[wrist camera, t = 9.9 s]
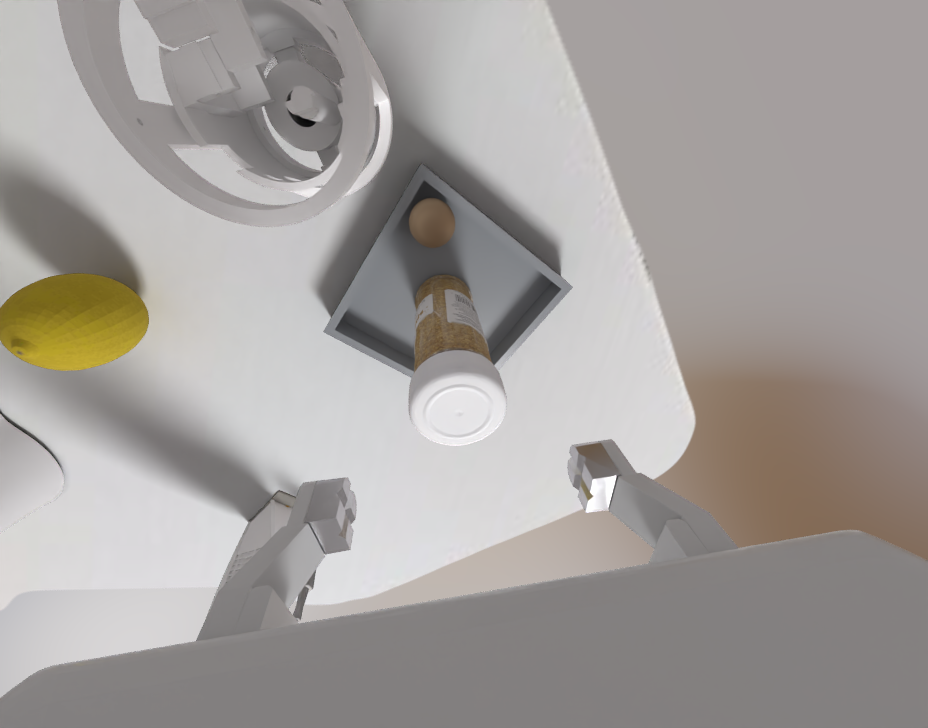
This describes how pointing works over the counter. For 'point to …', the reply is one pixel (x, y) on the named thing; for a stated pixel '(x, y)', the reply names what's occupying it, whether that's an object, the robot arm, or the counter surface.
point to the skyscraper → (265, 541)
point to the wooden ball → (432, 222)
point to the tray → (464, 256)
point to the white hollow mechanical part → (240, 98)
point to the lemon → (72, 321)
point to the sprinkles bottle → (452, 367)
